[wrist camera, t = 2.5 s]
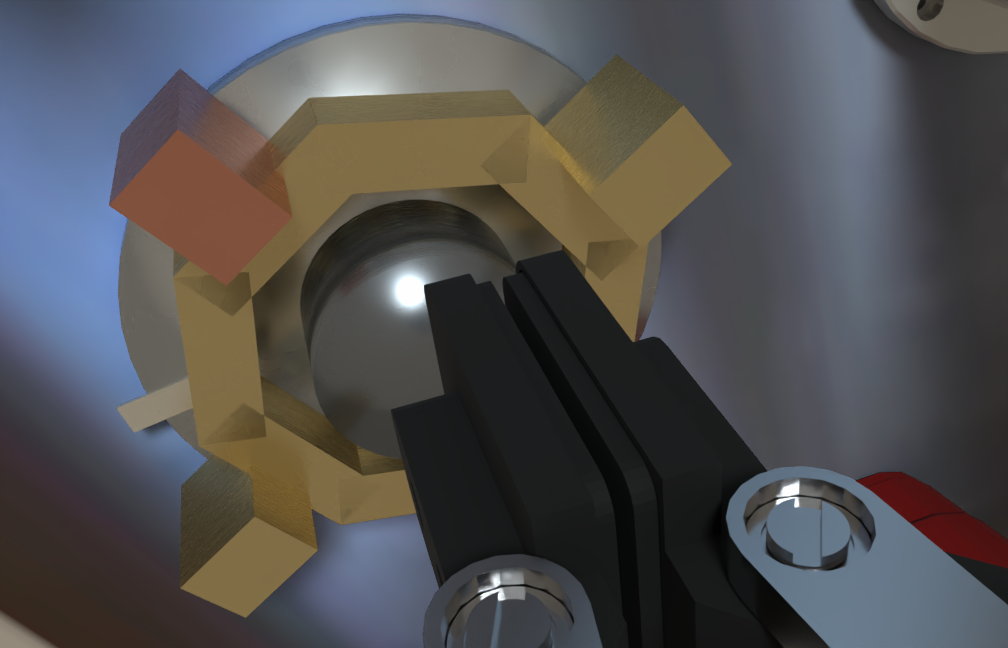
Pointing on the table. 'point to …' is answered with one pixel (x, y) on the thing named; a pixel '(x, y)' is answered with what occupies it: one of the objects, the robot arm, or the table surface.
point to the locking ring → (303, 210)
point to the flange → (358, 233)
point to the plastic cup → (939, 518)
